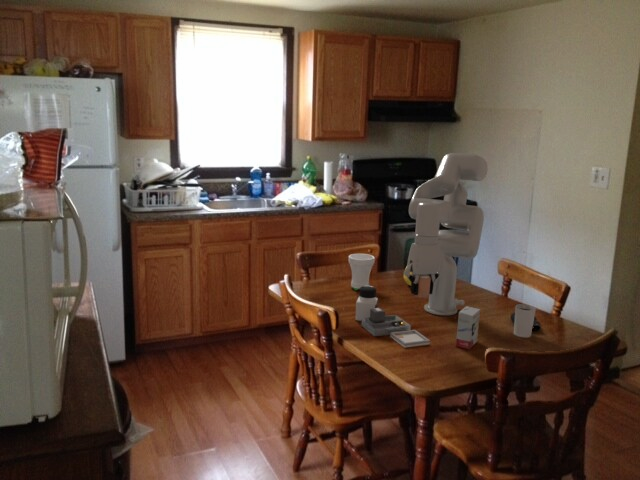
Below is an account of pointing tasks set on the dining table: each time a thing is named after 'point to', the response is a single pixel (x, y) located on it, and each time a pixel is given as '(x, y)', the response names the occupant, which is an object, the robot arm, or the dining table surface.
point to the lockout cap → (423, 286)
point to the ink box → (467, 327)
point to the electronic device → (533, 322)
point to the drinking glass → (524, 320)
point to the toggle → (377, 315)
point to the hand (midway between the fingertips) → (421, 293)
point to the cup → (360, 269)
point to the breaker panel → (386, 325)
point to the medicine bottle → (366, 302)
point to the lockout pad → (409, 338)
